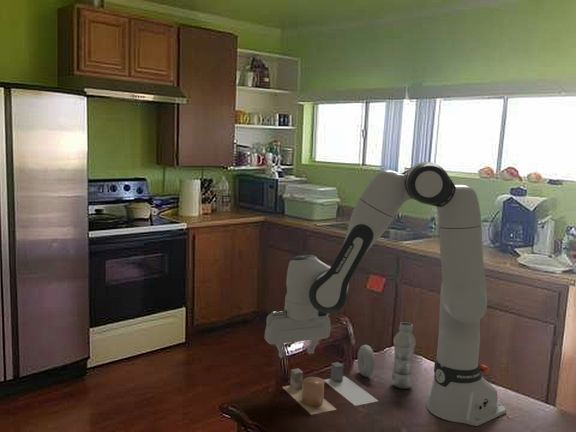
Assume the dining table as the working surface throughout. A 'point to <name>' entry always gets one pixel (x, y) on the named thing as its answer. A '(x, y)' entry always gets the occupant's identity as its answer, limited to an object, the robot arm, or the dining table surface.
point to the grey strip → (347, 387)
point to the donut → (366, 360)
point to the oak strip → (296, 393)
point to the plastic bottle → (403, 357)
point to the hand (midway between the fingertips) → (296, 354)
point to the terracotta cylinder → (313, 391)
